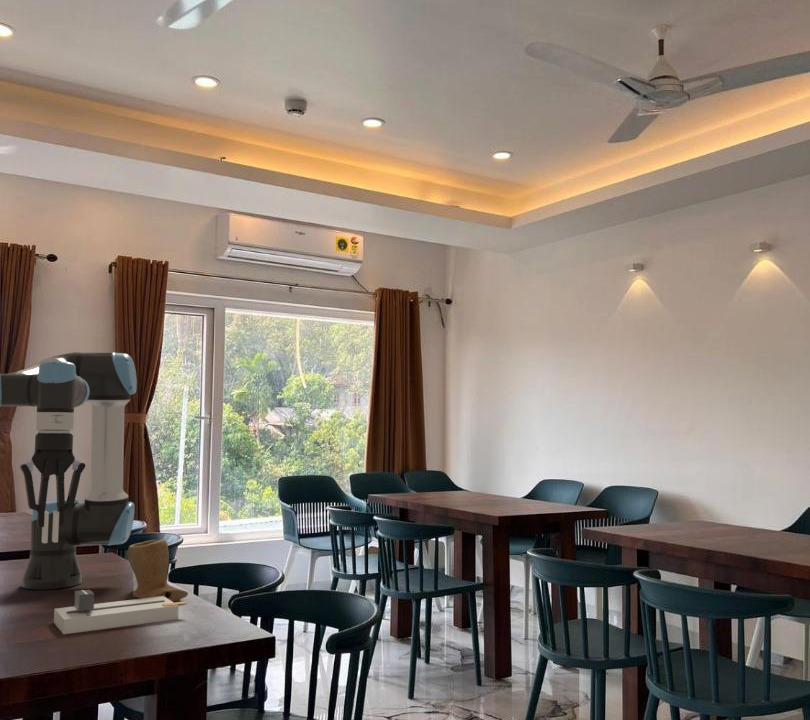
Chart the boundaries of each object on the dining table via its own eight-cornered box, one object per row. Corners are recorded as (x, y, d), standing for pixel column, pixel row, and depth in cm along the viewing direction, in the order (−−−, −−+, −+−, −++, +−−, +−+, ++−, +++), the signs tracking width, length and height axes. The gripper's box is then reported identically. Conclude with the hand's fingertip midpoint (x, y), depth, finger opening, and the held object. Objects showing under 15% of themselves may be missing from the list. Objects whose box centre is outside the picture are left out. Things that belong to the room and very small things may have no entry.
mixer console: (53, 622, 169) (54, 607, 170) (171, 607, 184) (171, 594, 184) (63, 634, 159) (64, 618, 160) (187, 617, 174) (187, 603, 174)
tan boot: (119, 598, 194) (121, 538, 196) (165, 592, 202) (166, 534, 203) (141, 609, 183) (143, 545, 184) (189, 602, 190) (190, 540, 192)
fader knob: (74, 607, 169) (75, 590, 169) (88, 605, 170) (89, 589, 171) (78, 611, 165) (79, 594, 165) (93, 609, 166) (94, 593, 167)
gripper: (20, 432, 160) (14, 546, 158) (93, 432, 168) (88, 541, 166) (15, 432, 166) (10, 542, 164) (86, 432, 174) (81, 537, 172)
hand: (49, 541), depth 165 cm, fingers closed
